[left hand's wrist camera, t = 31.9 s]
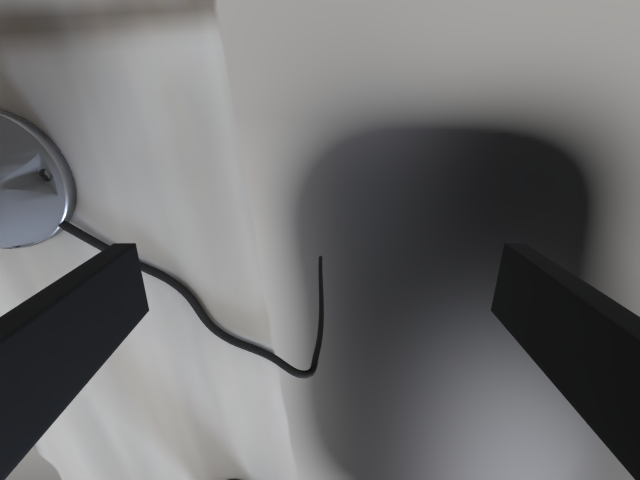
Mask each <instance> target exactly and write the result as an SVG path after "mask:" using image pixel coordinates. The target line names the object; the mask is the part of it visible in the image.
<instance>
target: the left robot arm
mask: <svg viewBox="0 0 640 480" xmlns="http://www.w3.org/2000/svg"><path fill="white" fill-rule="evenodd" d="M75 201H76V192H75V184H74V180H73V176H72V173H71V170H70V168H69V166H68V164H67V162H66V160H65V158H64V157H63V155H62V154H61V152H60V151H59V149H58V148H57V147H56V145H55V144H54V143H53V142H52V141H51V140H50V139H49V138H48V137H47V136H46V135H45V134H44V133H43V132H42V131H41V130H39V129H38V128H37V127H35V126H34V125H33V124H31V123H30V122H28V121H26V120H24V119H23V118H21V117H18V116H16V115H14V114H11V113H9V112H5V111H2V110H0V248H3V249H13V248H23V247H29V246H33V245H36V244H38V243H41V242H43V241H45V240H47V239H49V238H51V237H53V236H55V235H56V234H58V233H59V232H60V231H62V230H65V231H67V232H69V233H70V234H72V235H74V236H76V237H78V238H79V239H81V240H83V241H85V242H87V243H88V244H90V245H92V246H94V247H96V248H97V249H99V250H101V251H102V252H100V253H99V254H97V255H95V256H94V257H92V258H91V259H89V260H88V261H86V262H85V263H83V264H82V265H80V266H78V267H77V268H75V269H74V270H72V271H71V272H69V273H68V274H66V275H65V276H63V277H61V278H60V279H58V280H57V281H55V282H54V283H52V284H51V285H49V286H48V287H46V288H45V289H43V290H41V291H40V292H38V293H37V294H35V295H34V296H32V297H31V298H29V299H28V300H26V301H24V302H23V303H21V304H20V305H18V306H17V307H15V308H14V309H12V310H11V311H9V312H7V313H6V314H4V315H3V316H1V317H0V480H5V479H6V478H7V476H8V475H9V474H10V473H11V472H12V470H13V469H14V468H15V467H16V466H17V465H18V463H19V462H20V461H21V460H22V459H23V458H24V456H25V455H26V454H27V453H28V452H29V451H30V449H31V448H32V447H33V446H34V445H35V444H36V442H37V441H38V440H39V439H40V438H41V437H42V435H43V434H44V433H45V432H46V431H47V430H48V428H49V427H50V426H51V425H52V424H53V422H54V421H55V420H56V419H57V418H58V417H59V415H60V414H61V413H62V412H63V411H64V410H65V408H66V407H67V406H68V405H69V404H70V403H71V401H72V400H73V399H74V398H75V397H76V396H77V394H78V393H79V392H80V391H81V390H82V388H83V387H84V386H85V385H86V384H87V383H88V381H89V380H90V379H91V378H92V377H93V376H94V374H95V373H96V372H97V371H98V370H99V369H100V367H101V366H102V365H103V364H104V363H105V362H106V360H107V359H108V358H109V357H110V356H111V354H112V353H113V352H114V351H115V350H116V349H117V347H118V346H119V345H120V344H121V343H122V342H123V340H124V339H125V338H126V337H127V336H128V335H129V333H130V332H131V331H132V330H133V329H134V328H135V326H136V325H137V324H138V323H139V322H140V320H141V319H142V318H143V317H144V316H145V315H146V313H147V312H148V311H149V307H148V302H147V298H146V293H145V288H144V283H143V278H142V273H141V271H143V272H145V273H147V274H150V275H152V276H154V277H156V278H158V279H160V280H162V281H164V282H166V283H167V284H169V285H170V286H172V287H173V288H174V289H176V290H177V291H178V292H179V293H181V294H182V295H183V296H184V297H185V299H186V300H187V301H188V302H189V303H190V305H191V306H192V308H193V309H194V311H195V312H196V314H197V315H198V317H199V318H200V319H201V321H202V322H203V323H204V324H205V326H206V327H207V328H208V329H209V330H210V331H211V332H213V333H214V334H215V335H217V336H218V337H219V338H221V339H223V340H224V341H226V342H228V343H230V344H232V345H234V346H236V347H239V348H241V349H244V350H247V351H250V352H252V353H255V354H257V355H260V356H262V357H264V358H266V359H268V360H270V361H272V362H273V363H275V364H276V365H278V366H279V367H281V368H282V369H283V370H285V371H286V372H288V373H290V374H291V375H293V376H295V377H298V378H308V377H311V376H312V375H314V374H315V372H316V369H317V366H318V359H319V354H320V350H321V345H322V338H323V328H324V294H323V271H322V256H319V265H318V276H319V321H318V332H317V339H316V345H315V349H314V353H313V357H312V362H311V367H310V369H309V370H306V371H302V370H298V369H296V368H294V367H292V366H291V365H289V364H288V363H286V362H285V361H283V360H282V359H281V358H279V357H278V356H276V355H275V354H273V353H271V352H269V351H267V350H265V349H262V348H260V347H258V346H255V345H252V344H250V343H247V342H244V341H242V340H239V339H237V338H235V337H233V336H231V335H229V334H227V333H226V332H224V331H223V330H221V329H220V328H219V327H217V326H216V325H215V324H214V323H213V322H212V321H211V320H210V318H209V317H208V316H207V314H206V313H205V311H204V310H203V308H202V307H201V305H200V304H199V302H198V301H197V299H196V298H195V297H194V296H193V294H192V293H191V292H190V291H189V290H188V289H187V288H186V287H185V286H184V285H182V284H181V283H180V282H178V281H177V280H176V279H174V278H173V277H171V276H169V275H168V274H166V273H164V272H162V271H160V270H158V269H156V268H154V267H151V266H149V265H147V264H144V263H142V262H140V261H139V258H138V253H137V248H136V243H114V244H112V245H111V246H109V245H107V244H105V243H104V242H102V241H100V240H98V239H97V238H95V237H93V236H91V235H90V234H88V233H86V232H84V231H82V230H81V229H79V228H77V227H75V226H74V225H72V224H70V223H68V222H69V220H70V219H71V217H72V214H73V211H74V208H75ZM491 311H492V312H493V313H494V315H495V316H496V317H497V318H498V319H499V320H500V322H501V323H502V324H503V325H504V326H505V328H506V329H507V330H508V331H509V332H510V333H511V334H512V336H513V337H514V338H515V339H516V340H517V342H518V343H519V344H520V345H521V346H522V347H523V349H524V350H525V351H526V352H527V353H528V354H529V356H530V357H531V358H532V359H533V360H534V362H535V363H536V364H537V365H538V366H539V367H540V368H541V370H542V371H543V372H544V373H545V374H546V376H547V377H548V378H549V379H550V380H551V381H552V383H553V384H554V385H555V386H556V387H557V388H558V390H559V391H560V392H561V393H562V394H563V395H564V397H565V398H566V399H567V400H568V401H569V402H570V404H571V405H572V406H573V407H574V408H575V410H576V411H577V412H578V413H579V414H580V415H581V417H582V418H583V419H584V420H585V421H586V422H587V424H588V425H589V426H590V427H591V428H592V430H593V431H594V432H595V433H596V434H597V435H598V437H599V438H600V439H601V440H602V441H603V442H604V444H605V445H606V446H607V447H608V448H609V449H610V451H611V452H612V453H613V454H614V455H615V456H616V458H617V459H618V460H619V461H620V462H621V464H622V465H623V466H624V467H625V468H626V469H627V471H628V472H629V473H630V474H631V475H632V476H633V478H634V479H635V480H640V317H639V316H637V315H636V314H634V313H633V312H631V311H629V310H628V309H626V308H625V307H623V306H622V305H620V304H619V303H617V302H616V301H614V300H612V299H611V298H609V297H608V296H606V295H605V294H603V293H602V292H600V291H599V290H597V289H595V288H594V287H592V286H591V285H589V284H588V283H586V282H585V281H583V280H582V279H580V278H578V277H577V276H575V275H574V274H572V273H571V272H569V271H568V270H566V269H565V268H563V267H561V266H560V265H558V264H557V263H555V262H554V261H552V260H551V259H549V258H548V257H546V256H545V255H543V254H541V253H540V252H538V251H537V250H535V249H534V248H532V247H531V246H529V245H528V244H526V243H525V244H524V243H506V244H504V248H503V253H502V258H501V263H500V268H499V273H498V278H497V283H496V288H495V293H494V298H493V302H492V308H491Z"/></svg>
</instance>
